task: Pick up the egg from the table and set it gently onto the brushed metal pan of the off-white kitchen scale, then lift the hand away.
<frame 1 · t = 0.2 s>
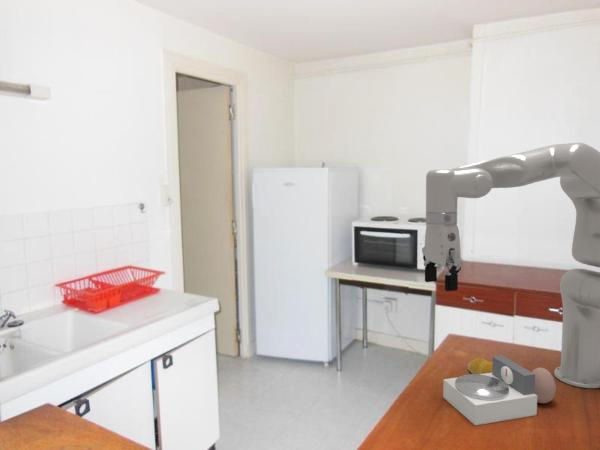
hand: (440, 285, 115), 31 cm above the table, tool pointing down, fingers open, 9 cm apart
egg: (540, 402, 117), on the table
kitchen scale: (487, 405, 116), on the table
bread roll: (484, 373, 135), on the table
scale pan: (481, 386, 115), point 5 cm above the table, slide at -0.2 cm, touching kitchen scale
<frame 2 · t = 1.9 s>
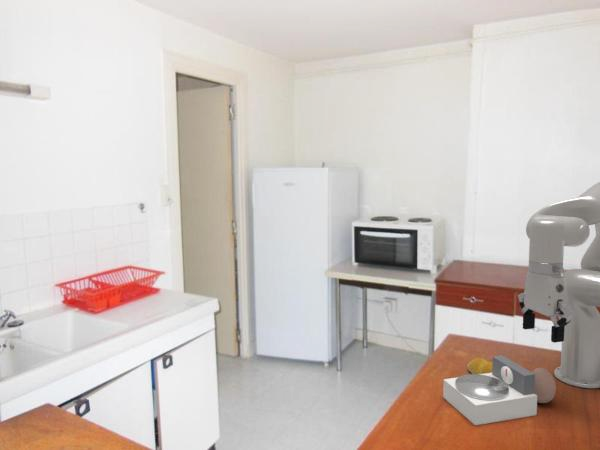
hand: (542, 334, 115), 18 cm above the table, tool pointing down, fingers open, 9 cm apart
nothing on the table moved.
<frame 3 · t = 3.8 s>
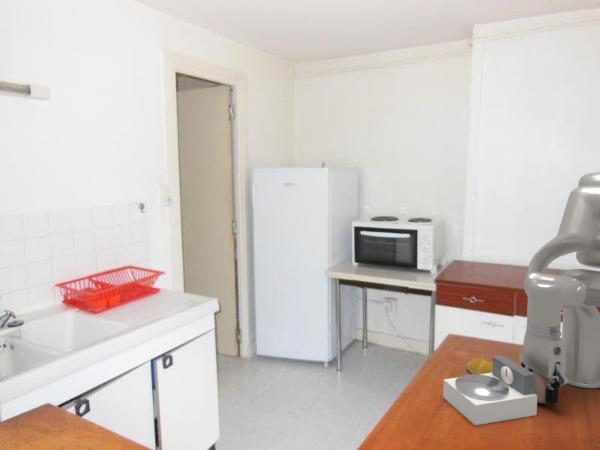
hand: (540, 395, 117), 2 cm above the table, tool pointing down, fingers closed on egg, 6 cm apart
egg: (540, 402, 117), on the table, touching gripper
everything else where it was.
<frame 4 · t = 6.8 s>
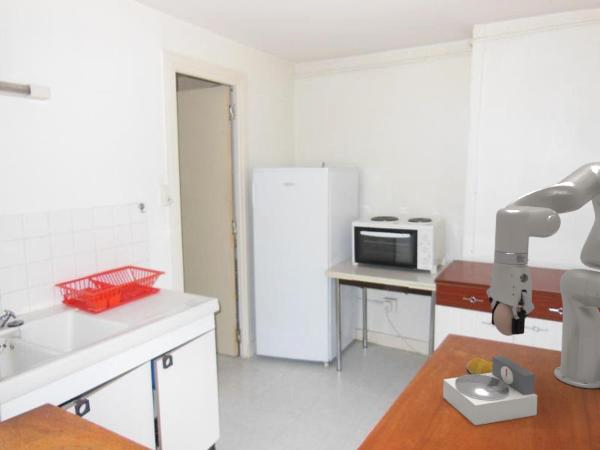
hand: (507, 328, 113), 20 cm above the table, tool pointing down, fingers closed on egg, 6 cm apart
egg: (507, 335, 113), point 18 cm above the table, touching gripper
everything else where it was.
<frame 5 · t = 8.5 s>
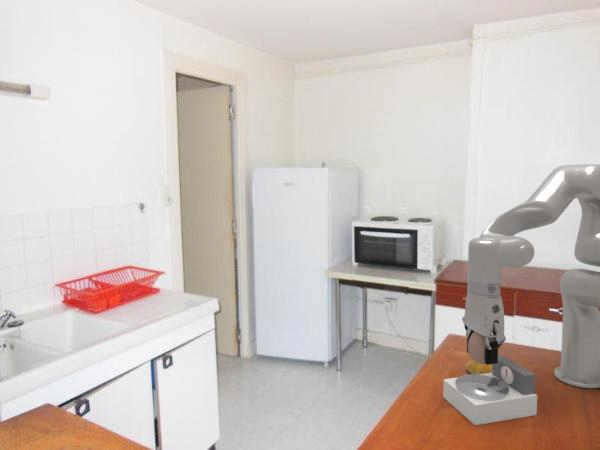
hand: (481, 357, 114), 13 cm above the table, tool pointing down, fingers closed on egg, 6 cm apart
egg: (481, 364, 114), point 11 cm above the table, touching gripper
everything else where it was.
when the fingers open (9 cm above the table, at t = 9.8 s): egg drops 1 cm, resting on scale pan.
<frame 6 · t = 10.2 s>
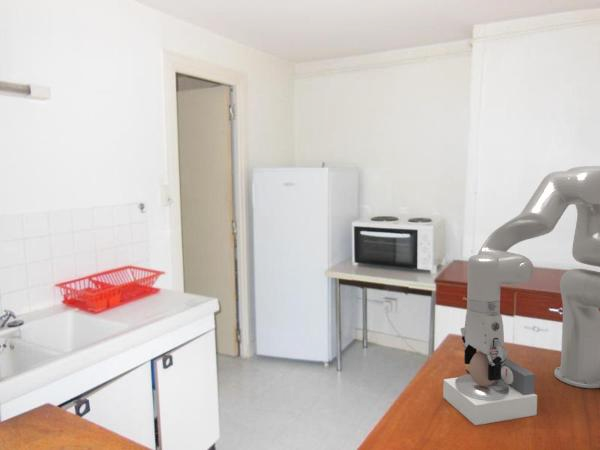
hand: (481, 371, 114), 9 cm above the table, tool pointing down, fingers open, 9 cm apart
egg: (482, 386, 114), point 6 cm above the table, touching scale pan
scale pan: (481, 386, 115), point 5 cm above the table, slide at -0.2 cm, touching egg, kitchen scale
everything else where it was.
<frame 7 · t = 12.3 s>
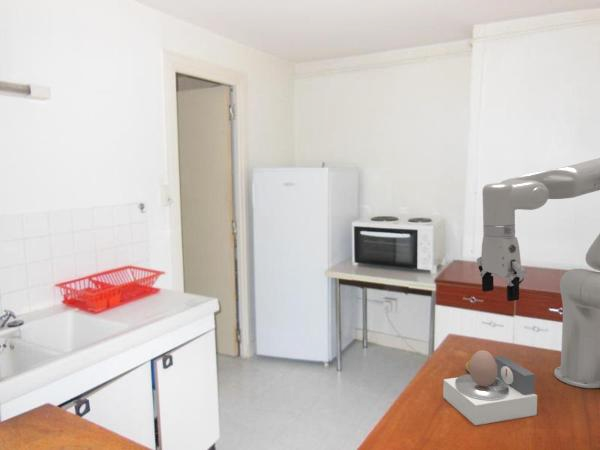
hand: (500, 295, 119), 27 cm above the table, tool pointing down, fingers open, 9 cm apart
nothing on the table moved.
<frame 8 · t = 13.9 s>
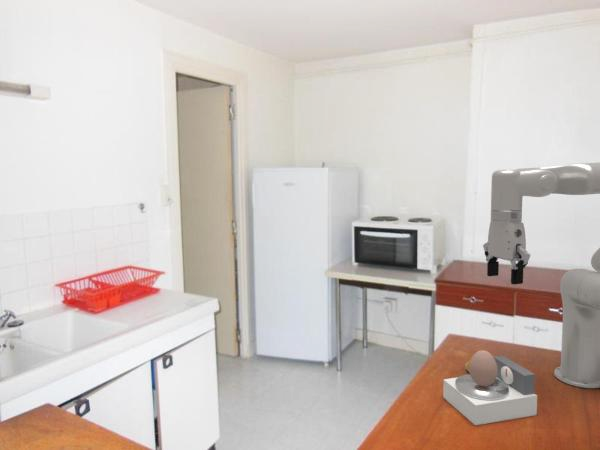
hand: (504, 279, 122), 30 cm above the table, tool pointing down, fingers open, 9 cm apart
nothing on the table moved.
at the end: egg 0.3 cm from the target spot on the kitchen scale, point 5.6 cm above the kitchen scale's base; egg touching scale pan; the gripper is holding nothing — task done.
